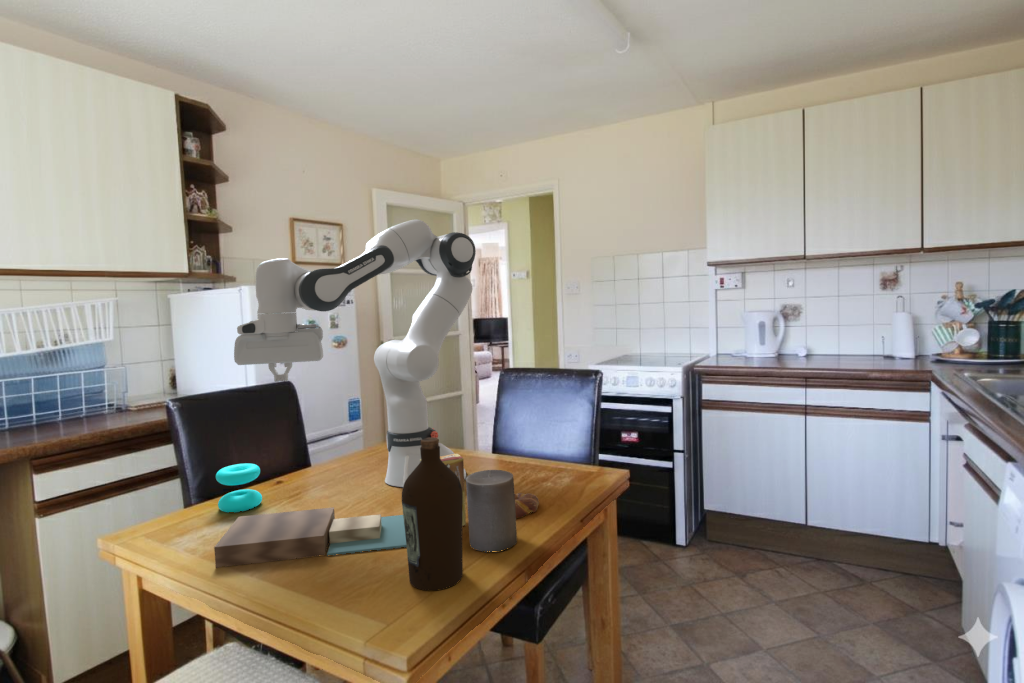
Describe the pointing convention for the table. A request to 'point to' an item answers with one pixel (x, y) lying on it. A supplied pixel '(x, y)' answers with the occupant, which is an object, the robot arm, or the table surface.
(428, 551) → the olive oil
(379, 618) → the table surface
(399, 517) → the teal mat
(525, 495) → the pretzel
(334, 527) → the cream block
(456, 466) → the candy box
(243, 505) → the donuts
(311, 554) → the walnut board
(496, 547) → the pillar candle
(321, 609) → the table surface
